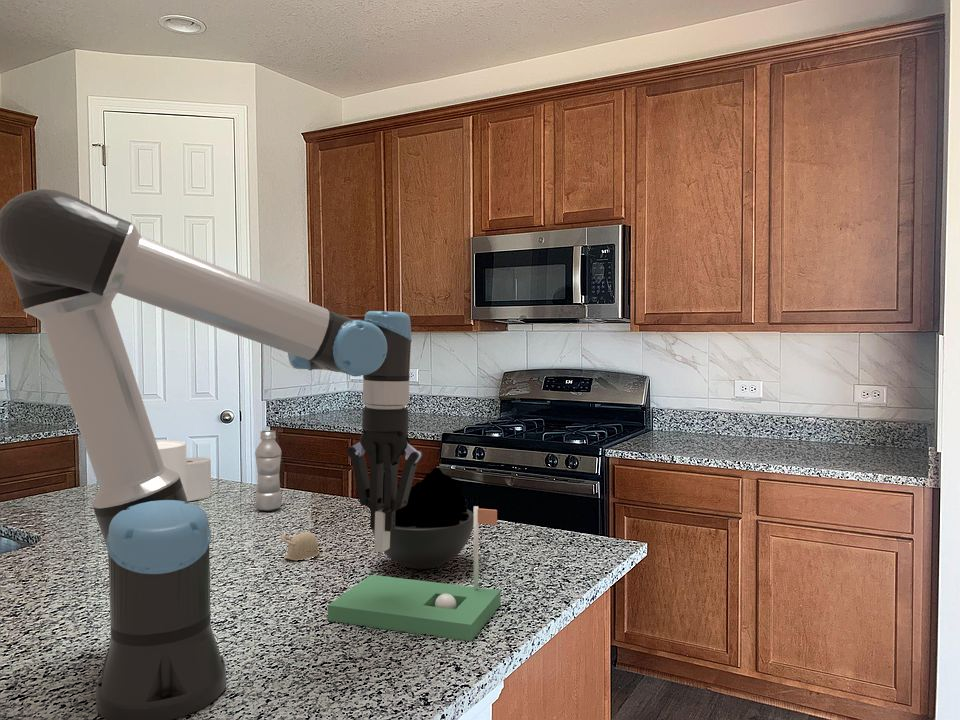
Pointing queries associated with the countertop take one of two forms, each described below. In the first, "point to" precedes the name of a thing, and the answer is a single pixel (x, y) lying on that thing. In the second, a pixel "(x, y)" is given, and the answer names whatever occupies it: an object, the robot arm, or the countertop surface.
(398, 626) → the green
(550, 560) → the countertop surface
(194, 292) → the robot arm
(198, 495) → the toilet tissue
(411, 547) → the coal bowl
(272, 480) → the plastic bottle
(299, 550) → the decorative ornament
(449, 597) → the ball
